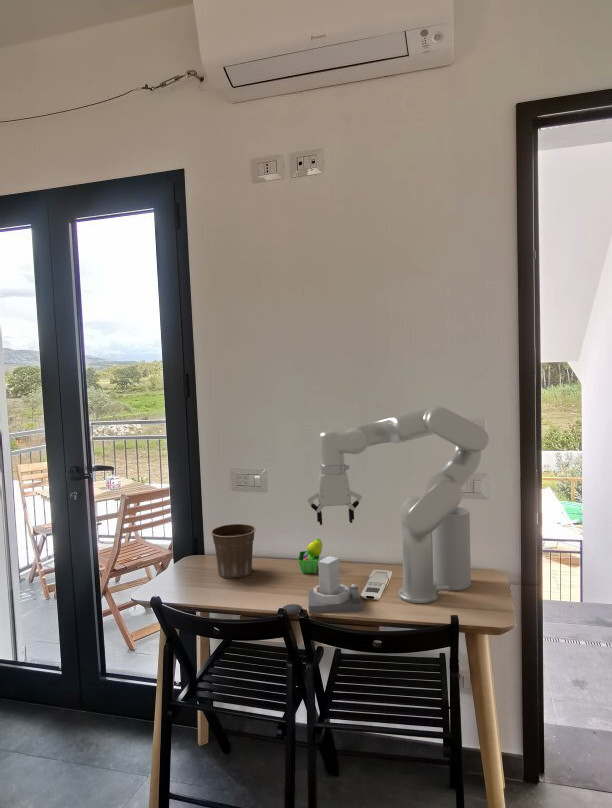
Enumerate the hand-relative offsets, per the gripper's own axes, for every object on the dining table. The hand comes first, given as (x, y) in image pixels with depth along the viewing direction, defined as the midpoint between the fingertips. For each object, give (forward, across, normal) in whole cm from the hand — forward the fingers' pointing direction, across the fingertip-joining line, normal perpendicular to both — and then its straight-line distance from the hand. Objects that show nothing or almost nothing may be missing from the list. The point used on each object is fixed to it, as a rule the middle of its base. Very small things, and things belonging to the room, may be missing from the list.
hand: (335, 522), depth 172 cm
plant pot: (+23, +36, -27) cm, 50 cm away
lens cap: (+24, +16, +8) cm, 30 cm away
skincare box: (+22, +4, +5) cm, 23 cm away
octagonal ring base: (+24, +2, +5) cm, 25 cm away
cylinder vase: (+25, -38, -6) cm, 46 cm away
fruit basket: (+24, +8, -27) cm, 37 cm away
